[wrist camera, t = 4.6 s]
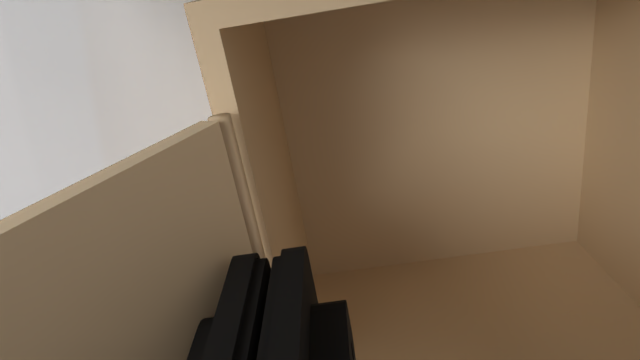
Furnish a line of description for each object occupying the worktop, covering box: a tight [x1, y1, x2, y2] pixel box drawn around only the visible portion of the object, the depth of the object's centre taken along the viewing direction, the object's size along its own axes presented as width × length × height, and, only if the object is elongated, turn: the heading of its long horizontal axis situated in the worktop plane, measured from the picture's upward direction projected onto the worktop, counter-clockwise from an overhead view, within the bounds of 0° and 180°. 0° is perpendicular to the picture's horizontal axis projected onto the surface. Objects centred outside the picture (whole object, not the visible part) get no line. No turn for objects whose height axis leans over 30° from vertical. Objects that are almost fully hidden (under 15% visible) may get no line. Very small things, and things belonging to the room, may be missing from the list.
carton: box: [184, 0, 640, 360], centre depth 15 cm, size 14×14×8 cm
